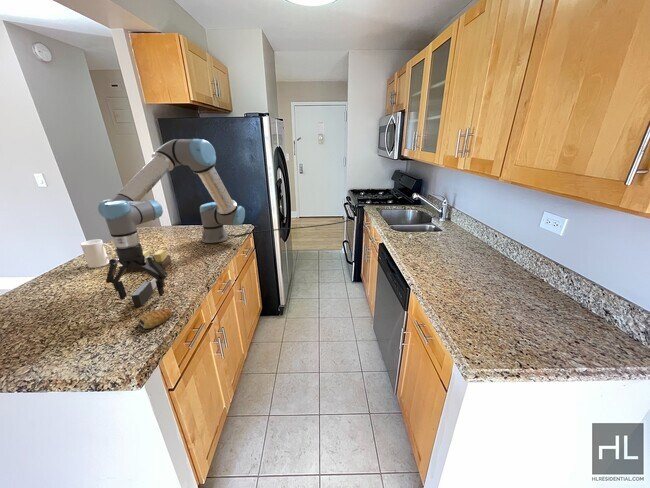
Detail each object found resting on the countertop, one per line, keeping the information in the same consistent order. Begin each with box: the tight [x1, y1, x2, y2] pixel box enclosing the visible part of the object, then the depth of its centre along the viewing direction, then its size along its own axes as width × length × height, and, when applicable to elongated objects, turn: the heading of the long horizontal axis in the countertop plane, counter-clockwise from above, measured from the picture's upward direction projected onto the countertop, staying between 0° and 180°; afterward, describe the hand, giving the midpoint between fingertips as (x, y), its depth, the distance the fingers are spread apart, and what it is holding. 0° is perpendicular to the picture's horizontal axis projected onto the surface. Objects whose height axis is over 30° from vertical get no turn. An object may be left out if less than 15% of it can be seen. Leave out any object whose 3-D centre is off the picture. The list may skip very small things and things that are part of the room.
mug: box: [80, 238, 114, 269], centre depth 128 cm, size 12×8×12 cm
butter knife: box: [130, 277, 157, 308], centre depth 106 cm, size 2×23×5 cm, turn 9°
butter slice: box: [153, 249, 167, 262], centre depth 128 cm, size 3×6×4 cm, turn 9°
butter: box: [143, 250, 151, 262], centre depth 126 cm, size 10×6×4 cm, turn 99°
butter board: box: [117, 254, 172, 273], centre depth 128 cm, size 19×10×3 cm, turn 99°
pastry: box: [138, 308, 173, 330], centre depth 88 cm, size 9×7×4 cm
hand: (143, 295), depth 100 cm, fingers open, 13 cm apart
